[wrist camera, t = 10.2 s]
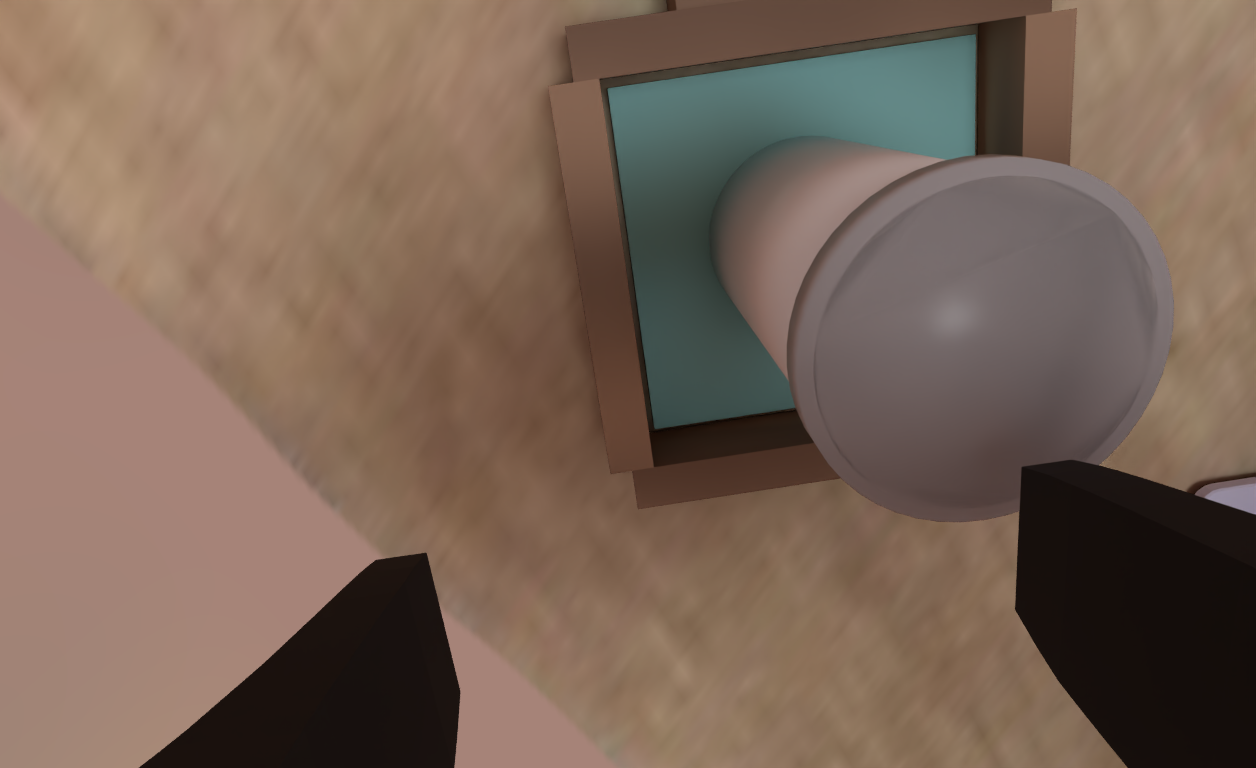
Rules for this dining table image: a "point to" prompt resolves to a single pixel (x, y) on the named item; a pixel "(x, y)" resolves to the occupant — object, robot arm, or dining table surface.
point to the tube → (945, 313)
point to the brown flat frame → (711, 153)
